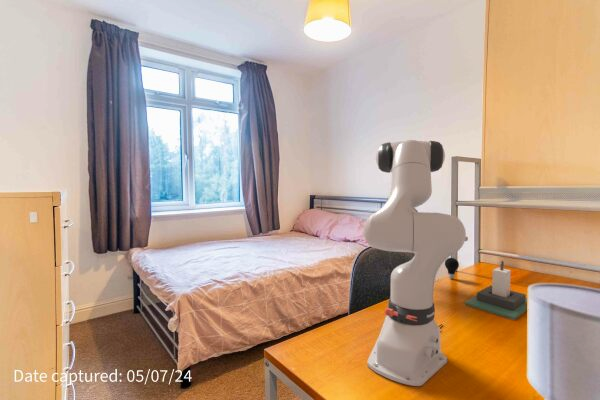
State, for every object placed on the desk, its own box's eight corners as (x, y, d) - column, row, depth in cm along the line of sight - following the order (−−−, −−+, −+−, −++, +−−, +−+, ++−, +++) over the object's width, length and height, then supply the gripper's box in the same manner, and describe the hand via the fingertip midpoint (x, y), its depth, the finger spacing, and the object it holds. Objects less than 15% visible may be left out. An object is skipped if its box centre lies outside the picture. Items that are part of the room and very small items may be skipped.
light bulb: (460, 281, 140) (461, 259, 139) (448, 281, 140) (448, 259, 139) (454, 276, 146) (455, 256, 145) (442, 276, 146) (442, 256, 145)
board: (514, 320, 102) (514, 308, 102) (465, 304, 115) (465, 294, 114) (536, 302, 115) (536, 292, 115) (489, 290, 128) (490, 281, 128)
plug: (504, 304, 112) (506, 263, 111) (491, 300, 115) (493, 260, 114) (509, 301, 114) (511, 261, 113) (496, 297, 118) (497, 258, 117)
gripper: (415, 231, 126) (448, 235, 114) (441, 226, 138) (473, 230, 127) (414, 246, 126) (447, 252, 115) (440, 240, 138) (472, 245, 127)
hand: (461, 240), depth 121 cm, fingers open, 8 cm apart
